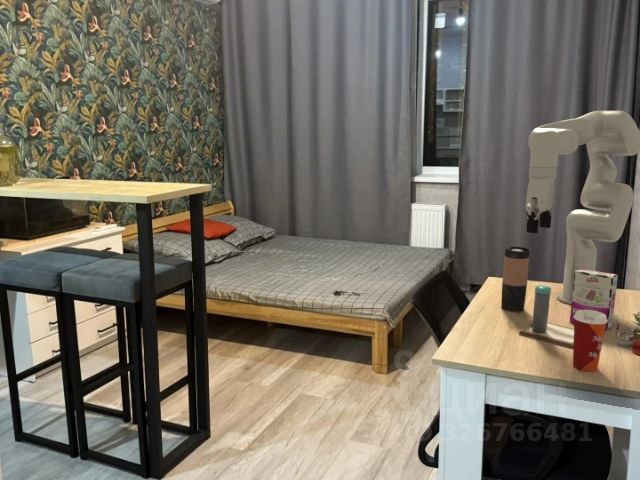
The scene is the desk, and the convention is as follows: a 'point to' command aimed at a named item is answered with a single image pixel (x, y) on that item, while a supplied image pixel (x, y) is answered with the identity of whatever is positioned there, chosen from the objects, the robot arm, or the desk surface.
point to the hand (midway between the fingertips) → (538, 230)
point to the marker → (541, 309)
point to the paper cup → (588, 339)
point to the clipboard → (552, 334)
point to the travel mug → (515, 278)
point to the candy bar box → (594, 293)
